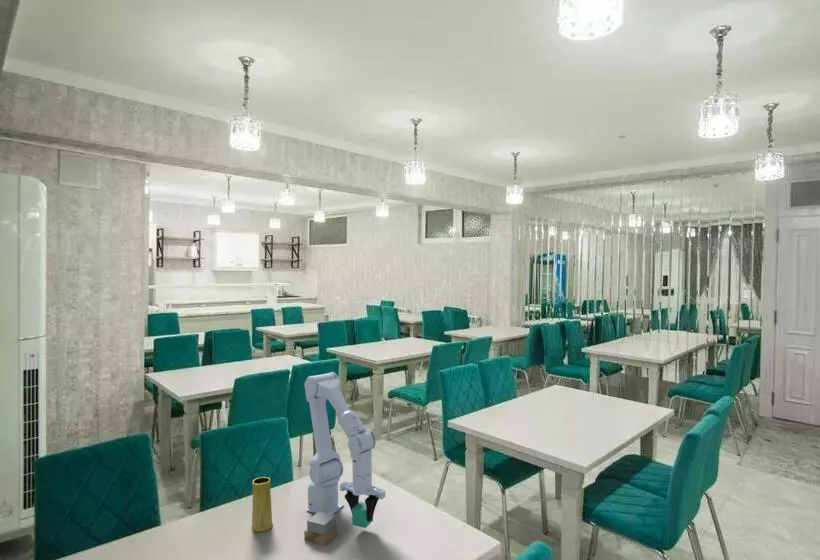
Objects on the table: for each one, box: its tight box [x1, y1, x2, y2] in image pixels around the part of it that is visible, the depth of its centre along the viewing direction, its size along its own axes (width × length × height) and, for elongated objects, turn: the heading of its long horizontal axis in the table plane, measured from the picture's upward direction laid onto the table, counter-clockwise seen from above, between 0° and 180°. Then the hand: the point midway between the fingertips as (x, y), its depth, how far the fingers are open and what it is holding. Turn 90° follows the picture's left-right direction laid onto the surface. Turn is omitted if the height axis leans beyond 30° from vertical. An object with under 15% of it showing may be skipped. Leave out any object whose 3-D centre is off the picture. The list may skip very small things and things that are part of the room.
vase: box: [251, 476, 273, 533], centre depth 142 cm, size 6×6×14 cm
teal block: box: [351, 501, 374, 529], centre depth 139 cm, size 4×4×5 cm
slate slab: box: [306, 511, 337, 535], centre depth 136 cm, size 6×6×3 cm
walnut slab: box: [304, 523, 339, 546], centre depth 136 cm, size 7×7×3 cm
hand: (362, 517), depth 139 cm, fingers closed on teal block, 4 cm apart
